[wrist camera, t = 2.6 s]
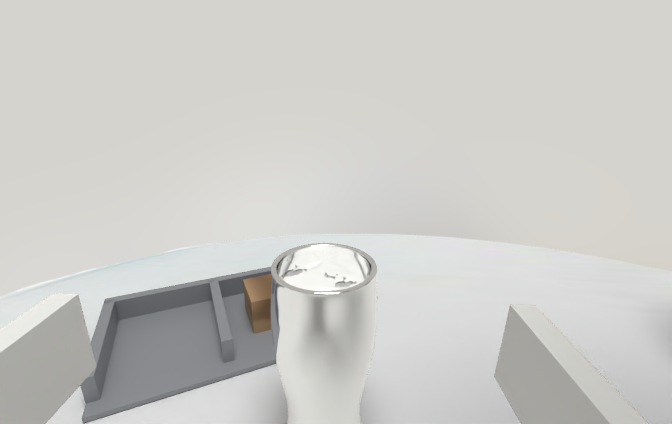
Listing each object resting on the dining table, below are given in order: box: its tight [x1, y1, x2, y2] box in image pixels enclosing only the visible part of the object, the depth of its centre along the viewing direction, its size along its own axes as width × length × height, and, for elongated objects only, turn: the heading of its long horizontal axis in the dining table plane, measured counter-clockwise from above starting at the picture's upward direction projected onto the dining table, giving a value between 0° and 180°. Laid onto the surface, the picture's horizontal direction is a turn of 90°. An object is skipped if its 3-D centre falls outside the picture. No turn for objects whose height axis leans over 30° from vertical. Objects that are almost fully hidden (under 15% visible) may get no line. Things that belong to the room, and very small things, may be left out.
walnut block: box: [243, 274, 272, 334], centre depth 39 cm, size 5×5×4 cm
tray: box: [80, 267, 276, 423], centre depth 37 cm, size 23×14×3 cm, turn 115°
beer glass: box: [270, 243, 377, 424], centre depth 23 cm, size 7×7×15 cm
